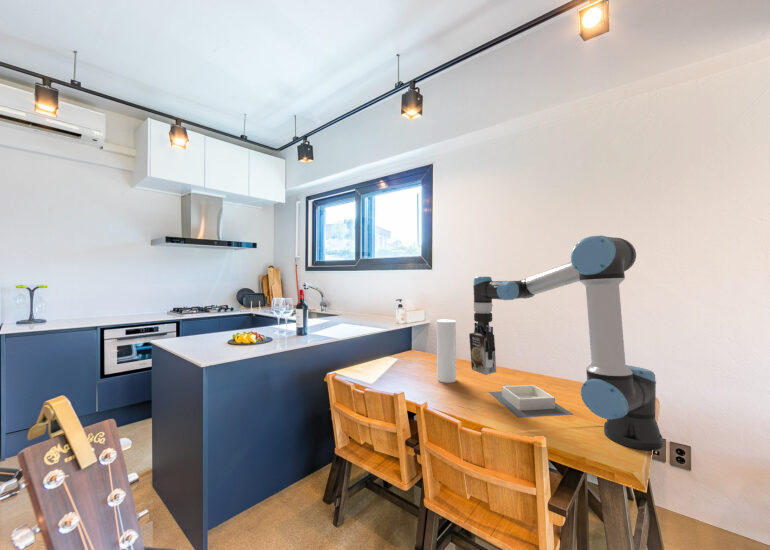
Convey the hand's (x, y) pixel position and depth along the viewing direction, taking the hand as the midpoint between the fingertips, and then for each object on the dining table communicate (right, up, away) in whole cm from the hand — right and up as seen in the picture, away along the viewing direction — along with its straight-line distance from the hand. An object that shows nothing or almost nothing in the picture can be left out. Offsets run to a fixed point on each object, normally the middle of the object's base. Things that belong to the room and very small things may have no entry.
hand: (483, 363), depth 142 cm
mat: (+16, -14, -7) cm, 22 cm away
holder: (+16, -14, -7) cm, 22 cm away
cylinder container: (-12, -14, +23) cm, 30 cm away
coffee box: (0, -3, 0) cm, 3 cm away
